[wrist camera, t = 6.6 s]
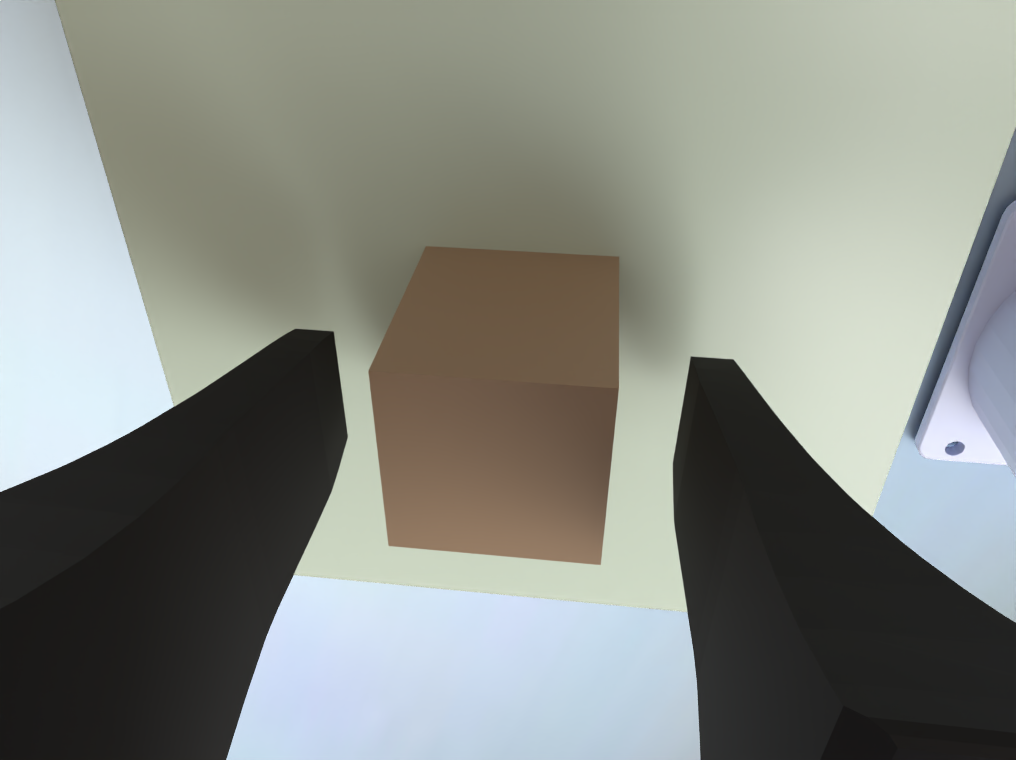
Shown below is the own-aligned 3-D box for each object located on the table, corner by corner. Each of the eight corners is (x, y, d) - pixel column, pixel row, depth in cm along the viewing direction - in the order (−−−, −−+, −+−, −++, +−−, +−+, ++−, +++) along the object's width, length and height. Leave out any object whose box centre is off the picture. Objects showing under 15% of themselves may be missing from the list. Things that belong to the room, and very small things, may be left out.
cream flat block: (1084, -130, 9) (1341, -106, 6) (825, 602, 17) (877, 795, 13) (41, -141, 11) (-227, -126, 7) (232, 548, 18) (143, 712, 15)
